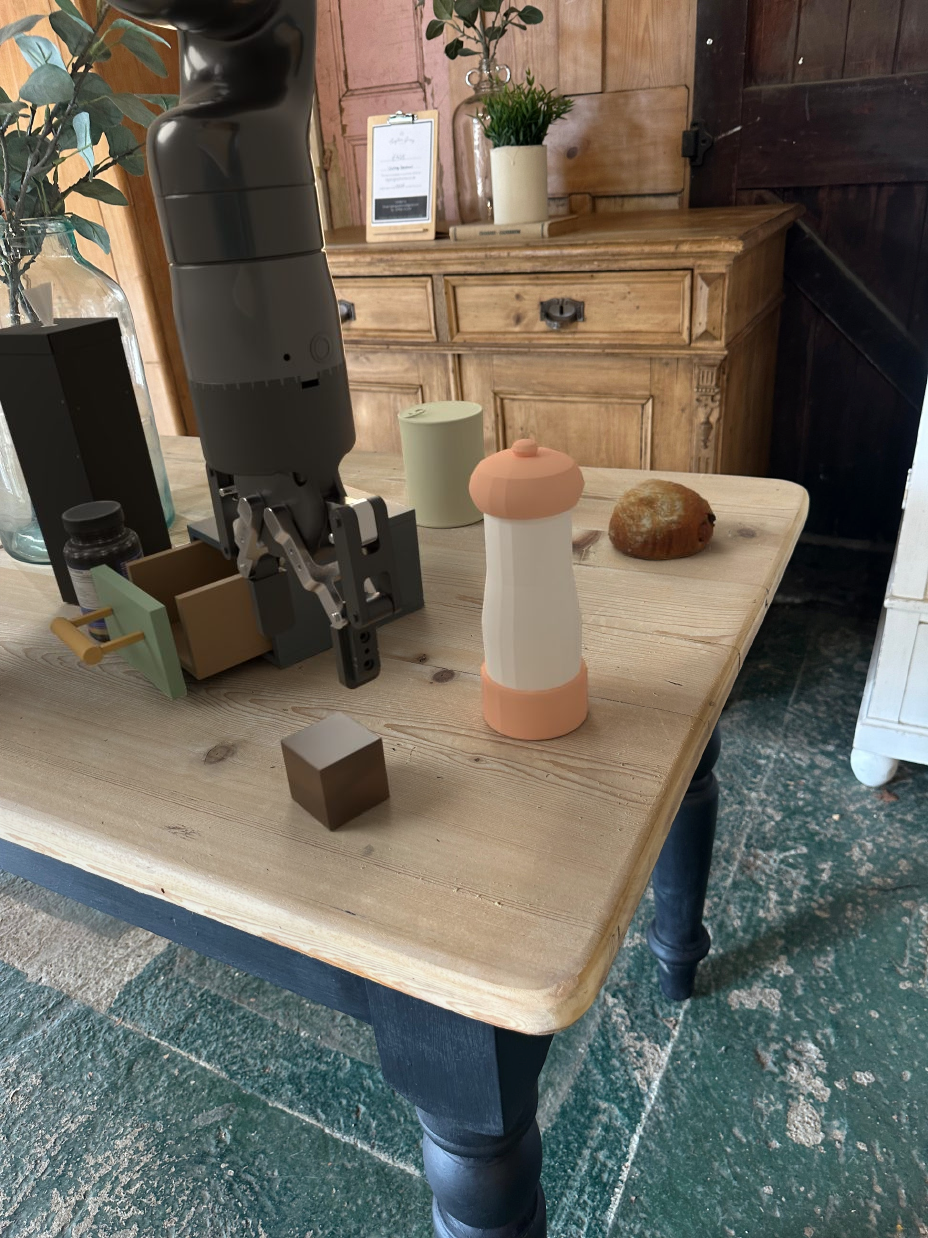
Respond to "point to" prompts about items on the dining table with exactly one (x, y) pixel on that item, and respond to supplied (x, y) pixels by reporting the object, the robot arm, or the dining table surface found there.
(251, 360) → the robot arm
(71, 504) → the black tall box
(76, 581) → the pill bottle
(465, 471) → the can
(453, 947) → the dining table surface
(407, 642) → the dining table surface
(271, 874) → the dining table surface
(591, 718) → the dining table surface
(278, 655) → the cabinet
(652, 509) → the bread roll
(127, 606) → the drawer
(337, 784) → the block
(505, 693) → the pepper shaker
